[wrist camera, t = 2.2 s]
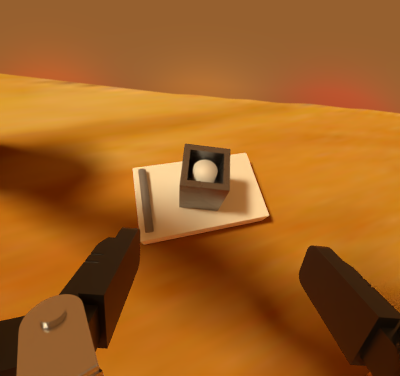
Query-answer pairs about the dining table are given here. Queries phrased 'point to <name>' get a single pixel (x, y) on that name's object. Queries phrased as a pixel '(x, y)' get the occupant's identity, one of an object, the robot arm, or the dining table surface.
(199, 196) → the hollow square tube
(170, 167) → the peg stand
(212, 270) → the dining table surface
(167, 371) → the dining table surface
